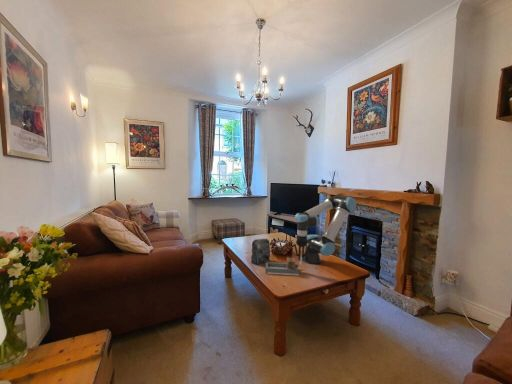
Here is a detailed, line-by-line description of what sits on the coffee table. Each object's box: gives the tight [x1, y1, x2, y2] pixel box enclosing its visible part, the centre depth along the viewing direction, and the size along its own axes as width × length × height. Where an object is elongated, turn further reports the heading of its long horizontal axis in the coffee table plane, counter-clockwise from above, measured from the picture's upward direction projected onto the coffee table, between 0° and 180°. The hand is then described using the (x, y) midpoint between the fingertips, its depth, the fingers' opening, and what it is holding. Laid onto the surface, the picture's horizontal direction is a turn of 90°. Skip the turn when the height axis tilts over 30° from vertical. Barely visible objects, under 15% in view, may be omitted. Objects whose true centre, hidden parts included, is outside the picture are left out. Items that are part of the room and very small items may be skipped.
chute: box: [265, 261, 300, 276], centre depth 176 cm, size 26×12×4 cm, turn 85°
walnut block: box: [286, 257, 296, 269], centre depth 176 cm, size 6×8×8 cm
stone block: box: [250, 238, 271, 265], centre depth 193 cm, size 18×9×20 cm, turn 124°
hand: (300, 264), depth 175 cm, fingers closed
